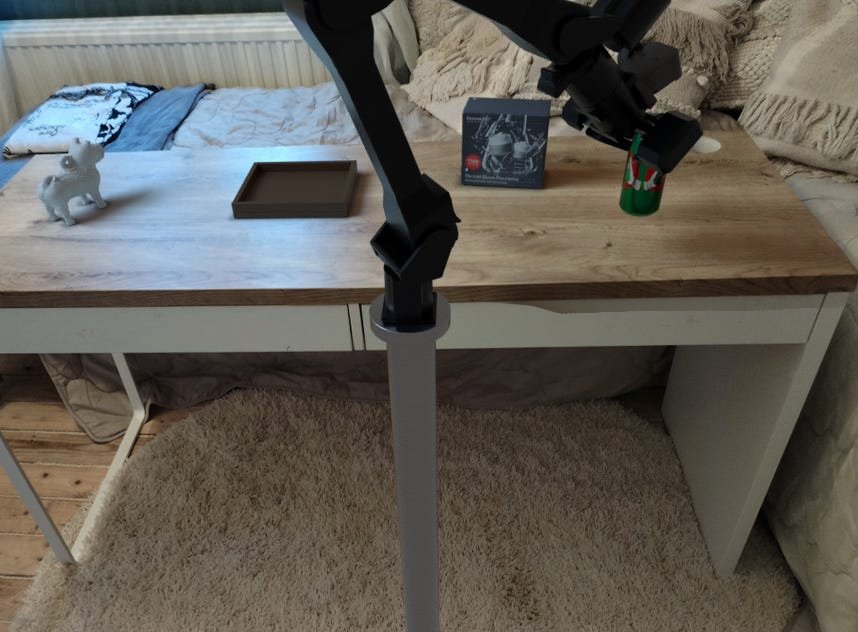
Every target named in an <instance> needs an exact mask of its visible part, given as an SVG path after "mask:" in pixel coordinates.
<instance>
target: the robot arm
mask: <svg viewBox="0 0 858 632" xmlns="http://www.w3.org/2000/svg"><path fill="white" fill-rule="evenodd" d="M394 1H395V0H280V2H281V5H282V8H283V11H284V12H285V14H286V16H287V18H289V20H290V22H291V23H292V25H293V26H294V27H295V29H296V30H297V32H298V33H299V34H300V36H301V37H302V38H303V40H304V41H305V43H306V44H307V45H308V46H309V48H310V49H311V50H312V51H313V53H314V54H315V55H316V57H317V58H318V59H319V60H320V61H321V62H322V64H323V65H324V66H325V68H326V70H328V72H329V73H330V76H331V78H332V80H333V83H334V84H335V87H336V89H337V91H338V93H339V95H340V97H341V99H342V102H343V104H344V106H345V108H346V111H347V113H348V114H349V117H350V119H351V121H352V124H353V125H354V127H355V130H356V132H357V134H358V136H359V138H360V140H361V143H362V146H363V147H364V150H365V152H366V154H367V155H368V158H369V161H370V162H371V165H372V167H373V169H374V171H375V173H376V175H377V177H378V179H379V182H380V184H381V186H382V208H383V212H384V215H385V220H384V222H383V223H382V225H381V226H380V227H379V228H378V230H377V231H376V233H375V234H374V235H373V236H372V238H371V239H370V241H369V245H370V247H371V249H372V251H373V253H374V255H375V256H376V257H378V258H379V259H380V260H381V262H382V263H384V264H383V268H382V269H383V283H384V284H383V285H384V293H385V295H384V301H383V308H382V315H381V323H382V324H384V325H433V324H435V323H436V310H437V292H438V291H436V290H434V281H436V280H439V279H442V278H443V276H444V273H445V270H446V268H447V264H448V263H449V262H448V261H449V258H450V256H451V252H452V250H453V249H454V246H455V244H456V242H457V241H459V234H460V232H459V228H458V225H457V224H460V223H462V219H461V218H460V217H458V216H457V213H456V212H455V210H454V205H453V199H452V196H451V193H450V191H448V190H447V189H446V188H444V187H443V186H442V185H441V184H439V183H438V182H437V181H436V180H434V179H433V177H431V176H429V175H428V174H427V173H426V172H423V173H422V172H421V170H420V168H419V165H418V163H417V160H416V158H415V155H414V153H413V150H412V148H411V146H410V143H409V141H408V138H407V136H406V133H405V130H404V128H403V126H402V123H401V121H400V119H399V116H398V113H397V110H396V109H395V107H394V104H393V101H392V99H391V96H390V94H389V91H388V89H387V86H386V84H385V81H384V79H383V76H382V75H381V71H380V70H379V67H378V65H377V63H376V62H377V61H376V57H375V26H374V21H373V18H372V17H373V16H375V15H377V14H378V13H380V12H381V11H383V10H385V9H387V8H388V7H390V5H391V4H392V3H393V2H394ZM447 1H448V2H450V3H452V4H455V5H456V6H458V7H461V8H463V9H464V10H467V11H469V12H472V13H474V14H475V15H477V16H479V17H482V18H484V19H486V20H488V21H489V22H490V23H492V24H493V25H494V26H495V27H496V28H497V29H498V30H499V31H500V32H501V33H502V34H503V35H504V36H505V37H506V38H507V39H509V40H510V42H512V43H514V44H515V45H516V46H517V47H518V48H519V49H521V50H523V51H525V52H527V53H529V54H532V55H534V56H537V57H539V58H541V59H544V60H546V61H549V62H550V63H549V65H547V66H542V67H541V68H540V69H539V70H540V71H539V72H540V75H539V77H538V80H537V84H536V90H537V91H539V92H540V93H542V94H545V95H547V96H549V97H551V98H553V99H555V100H557V99H559V98H560V97H561V96H562V95H563V93H564V92H566V94H567V95H568V96H569V98H568V100H567V101H565V103H564V104H563V106H562V107H561V117H560V118H561V119H562V120H563V121H564V123H566V124H567V126H569V127H570V128H573V129H575V130H577V131H578V132H580V133H581V132H582V131H583V130H584V129H585V126H586V129H585V135H586V136H587V137H589V138H592V139H593V140H595V141H597V142H599V143H602V144H605V145H607V146H610V147H613V148H616V149H619V150H621V151H625V152H627V153H628V149H629V143H630V141H633V140H634V139H635V138H636V137H637V135H638V134H640V135H642V137H641V138H640V139H641V140H642V141H641V142H640V143H639V144H638V150H637V153H636V155H635V156H634V157H633V159H634V160H636V161H637V162H639V163H641V164H643V165H645V166H647V167H650V168H652V169H654V170H656V171H658V172H660V173H662V174H667V175H668V174H670V173H672V172H673V170H674V169H675V168H676V167H677V166H678V165H679V164H680V162H681V161H682V160H683V159H684V158H685V156H687V154H689V152H690V151H691V149H693V147H694V146H695V145H696V144H697V143H698V141H699V140H700V139H701V138H702V137H703V136H704V133H705V132H704V127H703V125H702V124H701V122H700V121H699V120H698V119H697V117H694V116H691V115H688V114H686V113H684V112H681V111H679V110H677V109H672V110H668V111H667V110H666V111H665V112H658V113H659V114H657V115H656V116H654V115H651V114H649V113H650V112H647V110H650V111H651V110H652V109H653V108H654V106H655V105H656V104H657V103H658V101H659V100H658V98H657V97H656V96H655V95H656V94H659V92H661V91H662V90H664V89H665V88H667V87H668V86H669V85H671V84H672V83H674V82H676V81H678V80H680V79H681V78H682V76H683V69H682V64H681V57H680V50H679V48H678V47H675V46H672V45H669V44H666V43H663V42H660V41H648V40H645V41H643V43H641V41H642V40H643V39H644V37H645V36H646V35H647V34H648V33H649V32H650V30H651V29H652V28H653V26H654V25H655V24H656V23H657V22H658V20H659V19H660V17H661V16H662V15H663V14H664V13H665V12H666V11H667V9H668V8H669V7H670V5H671V4H672V0H596V2H595V3H594V4H593V5H592V6H590V5H586V4H583V3H579V2H576V1H572V0H447ZM608 50H610V51H612V52H614V53H617V56H616V60H615V59H614V58H613V55H611V54H610V52H609V51H608ZM652 124H654V125H652ZM633 131H634V132H633ZM635 132H636V133H635ZM637 133H638V134H637ZM433 290H434V291H433ZM435 291H436V292H435Z"/></svg>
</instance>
